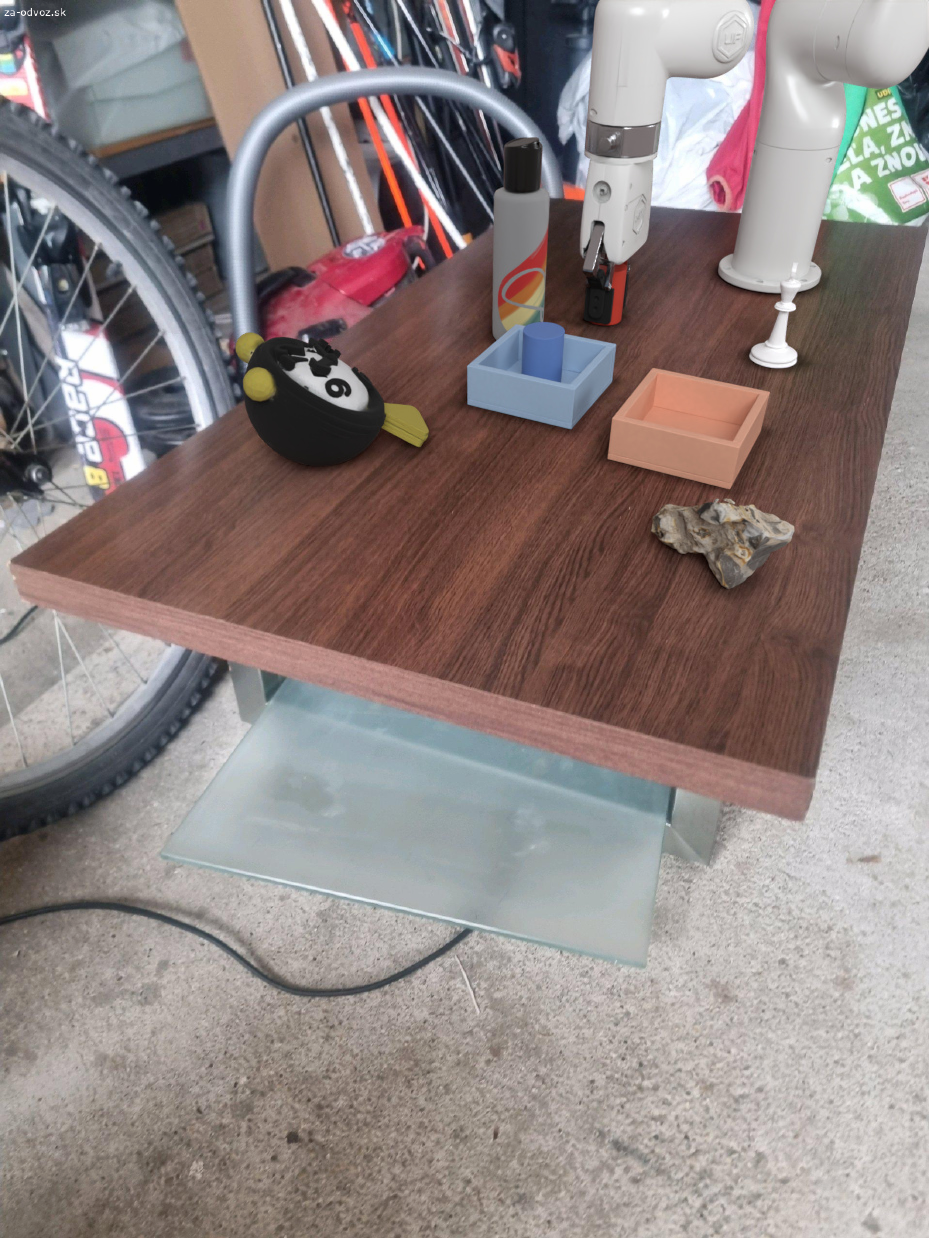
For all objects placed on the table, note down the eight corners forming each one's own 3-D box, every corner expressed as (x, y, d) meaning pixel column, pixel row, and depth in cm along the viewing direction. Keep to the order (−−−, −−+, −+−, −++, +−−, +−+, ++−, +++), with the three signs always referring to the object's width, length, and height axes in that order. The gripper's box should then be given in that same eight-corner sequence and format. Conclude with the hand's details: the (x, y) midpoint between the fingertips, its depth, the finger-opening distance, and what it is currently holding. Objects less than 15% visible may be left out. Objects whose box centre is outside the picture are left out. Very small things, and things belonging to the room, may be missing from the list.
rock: (617, 566, 63) (739, 531, 56) (627, 483, 66) (745, 440, 59) (686, 613, 68) (807, 586, 61) (693, 534, 71) (809, 500, 64)
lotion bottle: (538, 348, 95) (548, 146, 82) (488, 344, 96) (489, 144, 83) (545, 327, 99) (556, 132, 86) (496, 324, 100) (500, 130, 87)
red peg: (594, 309, 103) (598, 258, 99) (626, 315, 102) (632, 263, 98) (581, 321, 101) (586, 269, 97) (614, 328, 99) (620, 275, 95)
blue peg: (530, 376, 89) (533, 319, 85) (566, 384, 87) (571, 326, 83) (514, 392, 86) (516, 334, 82) (551, 400, 85) (554, 342, 81)
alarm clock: (391, 525, 77) (327, 417, 64) (262, 486, 82) (179, 380, 69) (448, 422, 80) (399, 300, 67) (321, 392, 86) (253, 274, 73)
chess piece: (797, 352, 94) (822, 257, 87) (795, 371, 90) (820, 274, 84) (751, 346, 95) (771, 252, 89) (747, 364, 92) (768, 269, 85)
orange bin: (647, 406, 85) (652, 367, 82) (760, 432, 81) (770, 391, 78) (607, 459, 78) (611, 418, 75) (729, 490, 74) (739, 447, 71)
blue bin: (514, 361, 93) (515, 323, 90) (612, 382, 89) (616, 343, 86) (467, 404, 85) (466, 365, 83) (571, 429, 82) (574, 389, 79)
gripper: (629, 163, 82) (609, 348, 94) (681, 126, 93) (657, 295, 105) (556, 154, 84) (546, 335, 97) (615, 119, 96) (599, 285, 108)
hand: (604, 312), depth 101 cm, fingers closed on red peg, 4 cm apart
